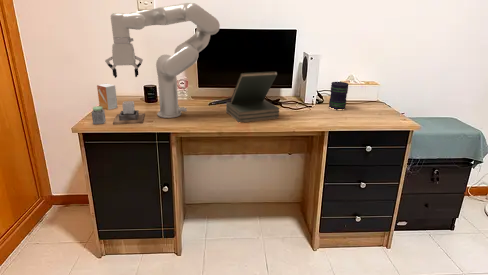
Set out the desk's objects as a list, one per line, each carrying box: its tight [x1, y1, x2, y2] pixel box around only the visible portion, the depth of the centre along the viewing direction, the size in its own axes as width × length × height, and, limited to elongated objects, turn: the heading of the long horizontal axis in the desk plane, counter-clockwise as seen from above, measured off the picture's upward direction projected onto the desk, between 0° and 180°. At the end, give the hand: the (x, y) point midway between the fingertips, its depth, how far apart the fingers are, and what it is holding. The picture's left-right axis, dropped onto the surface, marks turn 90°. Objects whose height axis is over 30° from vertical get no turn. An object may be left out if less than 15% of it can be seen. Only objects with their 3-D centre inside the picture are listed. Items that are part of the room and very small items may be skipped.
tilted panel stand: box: [225, 71, 280, 123], centre depth 184 cm, size 23×20×25 cm
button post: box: [91, 108, 107, 125], centre depth 170 cm, size 5×5×6 cm
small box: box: [96, 83, 118, 111], centre depth 194 cm, size 8×6×13 cm
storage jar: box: [328, 81, 349, 109], centre depth 203 cm, size 10×10×15 cm
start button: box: [92, 105, 104, 112], centre depth 170 cm, size 4×4×7 cm
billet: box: [122, 100, 135, 115], centre depth 175 cm, size 5×5×8 cm
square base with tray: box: [112, 110, 146, 125], centre depth 176 cm, size 14×14×4 cm
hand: (126, 76), depth 169 cm, fingers open, 9 cm apart
